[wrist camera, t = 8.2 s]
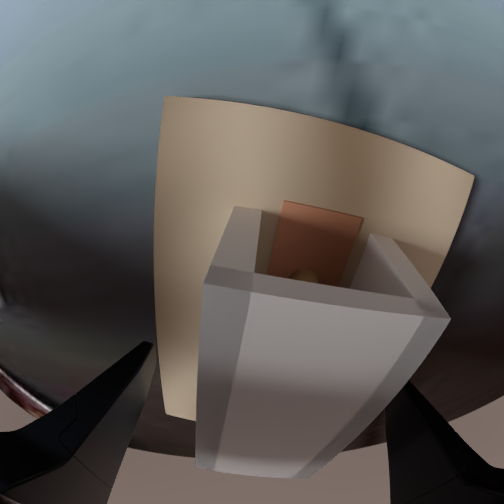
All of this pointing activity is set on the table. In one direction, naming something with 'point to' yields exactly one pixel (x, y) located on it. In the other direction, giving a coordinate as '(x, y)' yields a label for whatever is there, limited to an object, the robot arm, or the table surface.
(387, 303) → the plug housing
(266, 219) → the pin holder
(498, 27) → the table surface
